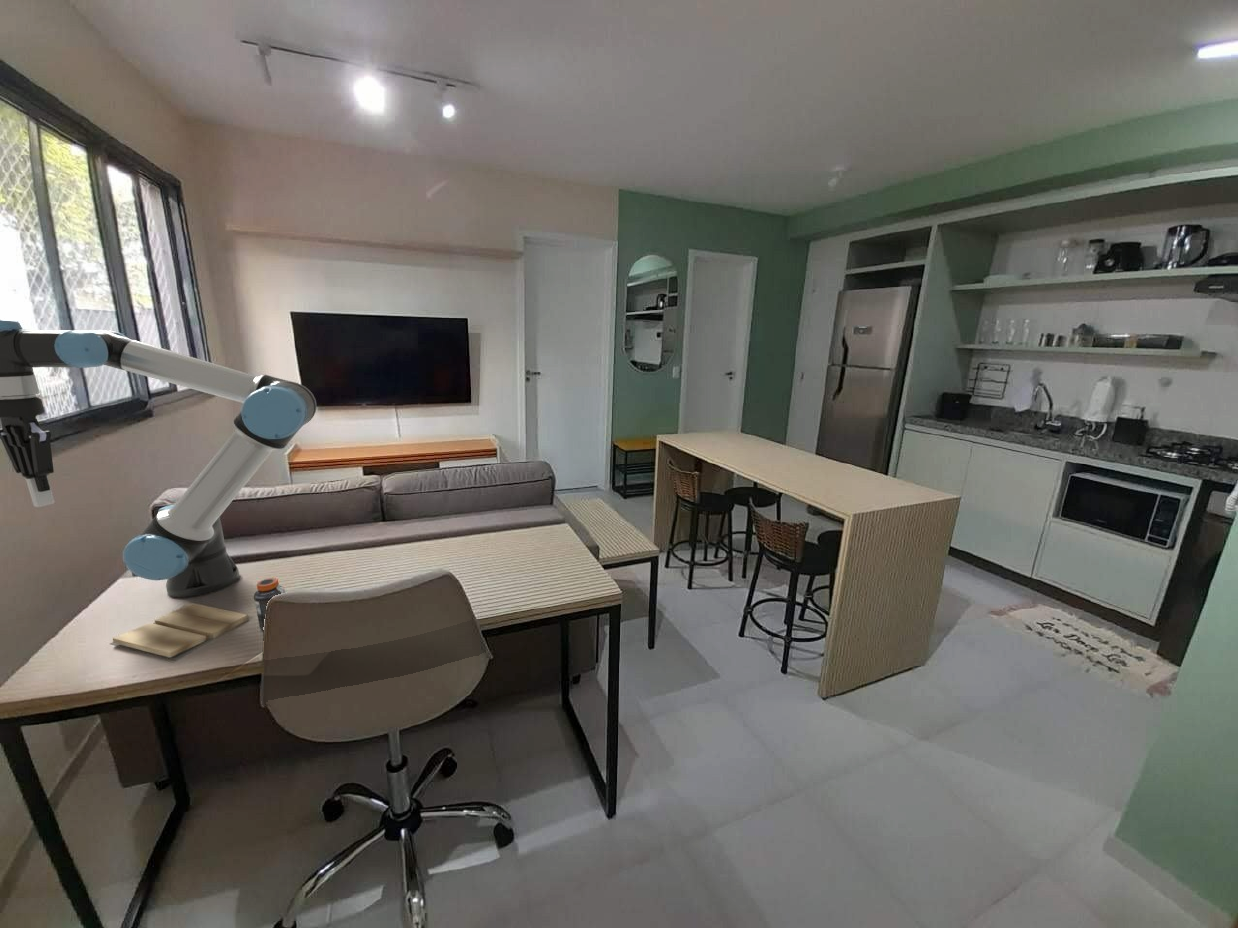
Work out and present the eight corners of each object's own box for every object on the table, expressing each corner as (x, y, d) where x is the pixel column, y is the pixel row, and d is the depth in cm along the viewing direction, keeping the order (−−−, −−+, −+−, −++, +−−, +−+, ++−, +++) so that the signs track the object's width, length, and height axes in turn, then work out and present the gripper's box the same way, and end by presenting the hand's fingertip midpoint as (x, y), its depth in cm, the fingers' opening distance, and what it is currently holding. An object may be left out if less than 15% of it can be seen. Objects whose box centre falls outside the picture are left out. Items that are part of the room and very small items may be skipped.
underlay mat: (193, 605, 123) (193, 604, 123) (253, 618, 118) (253, 617, 118) (109, 644, 107) (109, 643, 107) (175, 661, 102) (174, 660, 102)
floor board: (192, 607, 122) (191, 602, 121) (248, 619, 117) (247, 614, 117) (155, 624, 114) (154, 620, 114) (213, 638, 110) (212, 633, 109)
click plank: (154, 625, 113) (153, 621, 113) (209, 639, 109) (208, 634, 109) (113, 642, 106) (112, 638, 106) (170, 657, 102) (169, 652, 102)
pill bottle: (295, 617, 119) (288, 575, 116) (280, 631, 113) (272, 587, 110) (270, 617, 118) (262, 575, 116) (253, 631, 113) (245, 587, 110)
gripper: (-35, 397, 99) (0, 507, 105) (6, 400, 96) (40, 514, 102) (17, 393, 106) (48, 496, 112) (58, 396, 103) (87, 502, 109)
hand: (44, 504), depth 107 cm, fingers closed
